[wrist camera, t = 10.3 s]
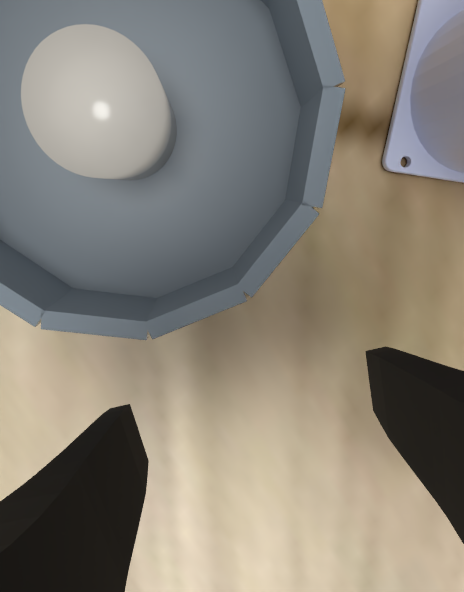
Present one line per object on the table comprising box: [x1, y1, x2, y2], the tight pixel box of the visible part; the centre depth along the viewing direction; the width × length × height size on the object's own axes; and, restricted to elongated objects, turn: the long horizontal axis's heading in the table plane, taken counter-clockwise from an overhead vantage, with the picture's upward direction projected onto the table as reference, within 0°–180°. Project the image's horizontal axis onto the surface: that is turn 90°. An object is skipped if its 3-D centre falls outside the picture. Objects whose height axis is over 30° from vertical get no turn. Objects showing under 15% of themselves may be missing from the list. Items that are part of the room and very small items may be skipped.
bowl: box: [0, 0, 345, 340], centre depth 16 cm, size 17×17×4 cm
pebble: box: [21, 24, 177, 181], centre depth 15 cm, size 4×4×5 cm
